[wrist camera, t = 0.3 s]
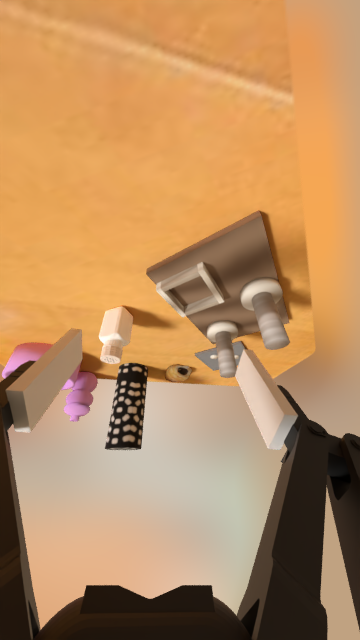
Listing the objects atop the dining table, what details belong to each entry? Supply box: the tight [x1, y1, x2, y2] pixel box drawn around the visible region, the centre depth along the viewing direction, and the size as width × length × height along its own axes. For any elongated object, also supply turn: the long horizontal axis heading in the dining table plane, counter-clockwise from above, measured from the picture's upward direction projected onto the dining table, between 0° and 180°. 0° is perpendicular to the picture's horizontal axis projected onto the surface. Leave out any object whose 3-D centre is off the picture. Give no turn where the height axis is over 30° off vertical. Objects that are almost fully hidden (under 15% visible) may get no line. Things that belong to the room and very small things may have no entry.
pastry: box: [165, 365, 192, 382], centre depth 60 cm, size 9×7×4 cm
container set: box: [2, 343, 98, 421], centre depth 52 cm, size 25×15×13 cm, turn 20°
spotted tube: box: [105, 363, 148, 450], centre depth 54 cm, size 8×8×20 cm
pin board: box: [146, 211, 290, 378], centre depth 31 cm, size 24×16×11 cm, turn 31°
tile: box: [195, 341, 246, 371], centre depth 53 cm, size 12×12×1 cm
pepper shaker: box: [99, 306, 133, 364], centre depth 35 cm, size 4×4×10 cm
